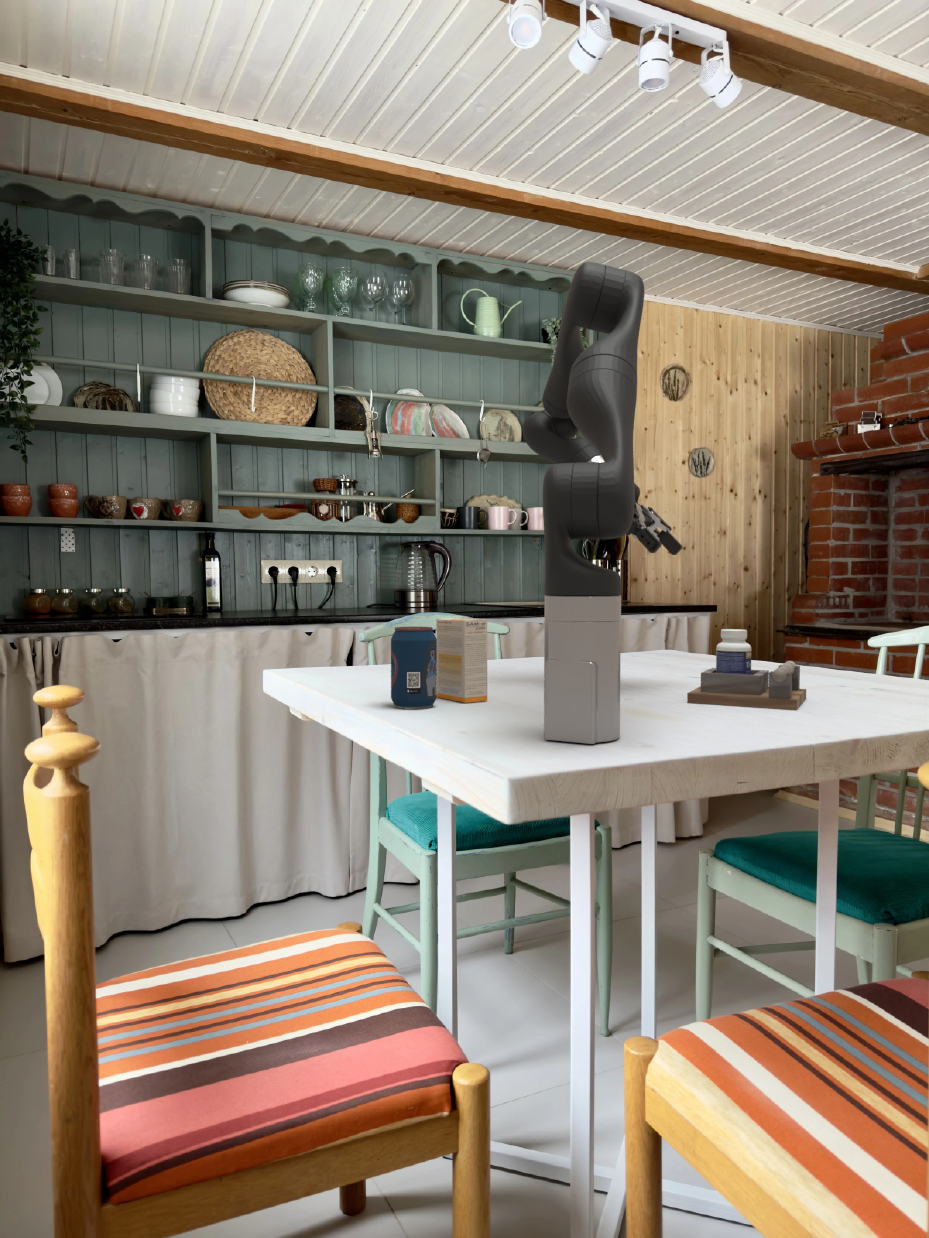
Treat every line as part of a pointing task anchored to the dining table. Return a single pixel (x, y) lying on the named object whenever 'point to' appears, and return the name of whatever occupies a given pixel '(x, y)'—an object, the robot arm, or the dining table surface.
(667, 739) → the dining table surface
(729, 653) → the pill bottle
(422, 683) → the soda can
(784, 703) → the block
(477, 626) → the supplement box
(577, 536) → the robot arm
